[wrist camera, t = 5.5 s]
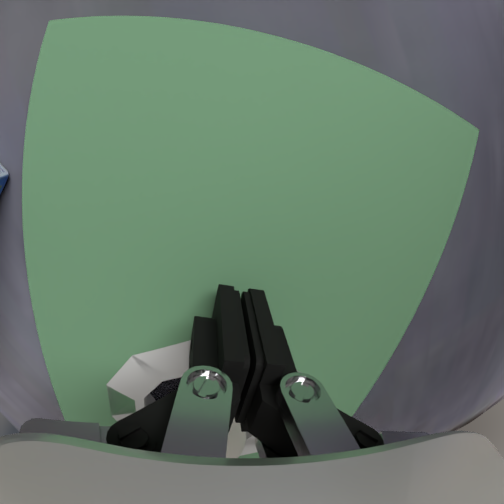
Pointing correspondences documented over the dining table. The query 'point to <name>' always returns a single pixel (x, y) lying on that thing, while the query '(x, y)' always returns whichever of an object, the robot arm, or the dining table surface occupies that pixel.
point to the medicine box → (3, 177)
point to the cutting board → (224, 203)
